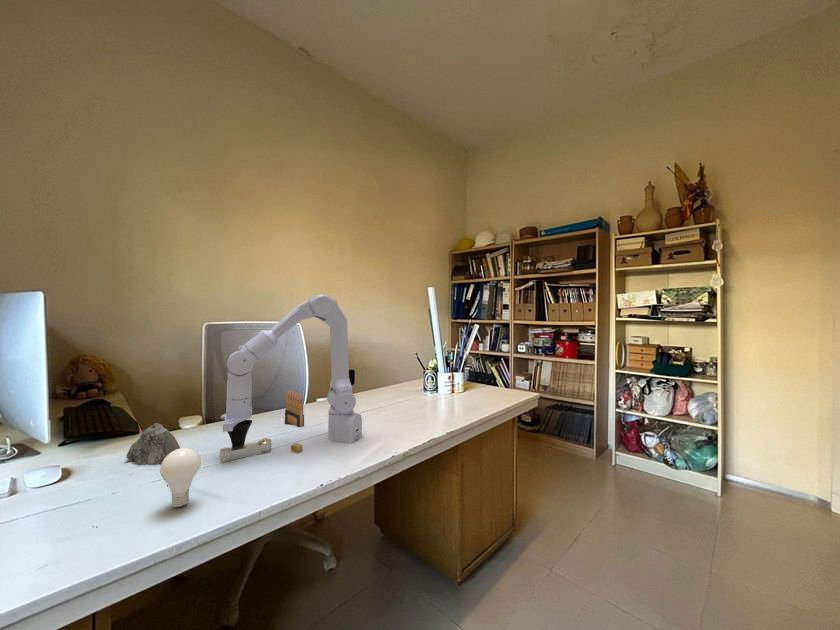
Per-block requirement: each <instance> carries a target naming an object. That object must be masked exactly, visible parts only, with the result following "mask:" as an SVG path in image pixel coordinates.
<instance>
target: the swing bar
mask: <svg viewBox="0 0 840 630" xmlns="http://www.w3.org/2000/svg"><path fill="white" fill-rule="evenodd" d="M270 452H272V439H271V438H266V437H265V438H262V439H260V440H258V441H257V442H253V443H247V444H244V445H243V446H237V447H232V446H231V447H224V448H220V449H219V460H220V462H221V463H227V462H231V461H233V460H237V459H242V458H247V457H252V456H256V455H261V454H266V453H267V454H268V453H270Z"/></svg>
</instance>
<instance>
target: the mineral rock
mask: <svg viewBox="0 0 840 630" xmlns="http://www.w3.org/2000/svg"><path fill="white" fill-rule="evenodd" d="M180 448H181V447H180V444H179V443H178V440H177V439H176V437H175V436H174V434H173V433H172V432H171V431H170V430H168V429H167V428H165V427H164V426H163V425H162V423H158V422H155V423H154V424H152V425H149V426H148V427H147V428H145V429H143V431H142V433H141V434H140V436H139V438H138V439H137V440H136V441H135V442H134V443H132V445H130V447H129V449H128V451H127V453H126V459H127V460H128V461H130V463H134V464H135V465H139V466H145V465H148V466H151V465H155V466H156V465H161V464H162V462H163V460H164V458H165V457H166V456H167V455H168V454H169V453H171V452H172V451H174V450H176V449H180Z"/></svg>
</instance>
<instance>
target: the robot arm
mask: <svg viewBox="0 0 840 630" xmlns="http://www.w3.org/2000/svg"><path fill="white" fill-rule="evenodd" d="M311 318H312V319H313V318H316V319H319V320H321V321H322V322H323V323H324V324H325V325H327V326H328V327H329V335H330V336H329V337H330V338H329V341H330V343H329V345H330V369H331V370H330V371H331V379H330V383H329V390H328V393H327V396H326V400H327V402H328V404H329V405H330V407H329V409H328V418H327V419H328V420H327V421H328V423H327V425H328V426H327V433H328V434H327V435H328V436H327V439H328V441H331V442H333V443H335V442H336V443H346V444H347V443H348V444H353V443H354V442H356V441H357V440H359V439H361V438H362V437H363V418H362V415H361V414H360V413H357V412H356V411H354V410H355V407H356V404H357V398H356V396H355V394H354V393H353V385H352V383H351V380H350V373H349V372H350V368H349V367H350V366H349V363H350V362H349V338H348V334H349V333H348V320H347V319H348V318H347V317H346V315H345V314H344V312H343V310H341V308H340V307H339V304H338V301H336V300H335V299H334V298H333V297H331V296H330V295H328V294H320V293H319V294H318V295H313V296H311V297H309V298H308V299H307V300H306V301H304V302H302V303H300V304H299V305H297V306H296V307H294V308H293V309H292V310H291V311H290V312H289V313H288V314H286V315H285V316H284V317H282V319H280V320H279V322H277V323H276V324H275V325H274V326H273V327H272V328H270V329H262V330H259V332H258V331H255V332H253V334H252V336H253V337H252V338H250V339H249V340H248V341H246V342H245V343H244V344H243V345H239V346H238V347H237V349H238V350H237V351H234V352H233V353H230V355H229V357H228V359H227V361H226V363H227V364H226V365H227V368H228V372H227V381H226V404H225V405H226V407H225V408H226V411H225V413H224V414H222V415H221V416H220V419H222V420H224V422H223V423H222V432H223V433H224V432H227V433H228V436H229V438H230V441H231V442H230V443H231V448H232V447H237V446H243V445H245V442H246V439H247V435H248V431H249V429H250V427H251V425H252V424H253V420H252V419H251V418H252V416H253V407H252V397H253V395H252V394H253V388H252V387H253V379H252V370H253V368H254V366H255V365H254V364H255V363H257V362H260V361H261V360H262V359H263V358H265V356H267V355H268V354H269V353H270V352H271V351H273V350H274V349H275V348H276V347H277V346H278V343H279V341H278V340H279V338H281V337H282V336H283V335H284V334H286V333H287V332H289V330H291V328H293V327H294V326H296V325H297V324H299V322H301V321H302V320H307V319H311Z"/></svg>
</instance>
